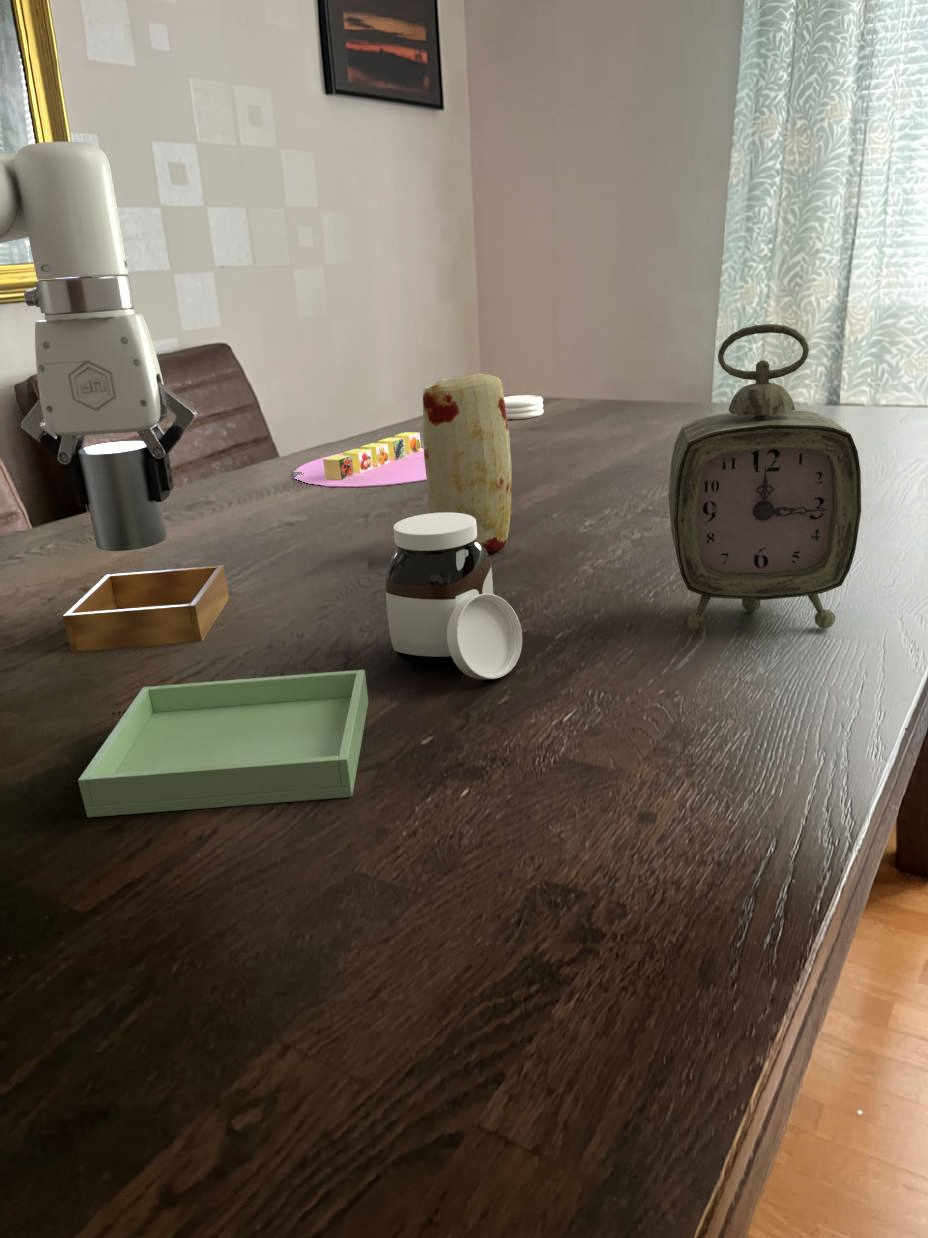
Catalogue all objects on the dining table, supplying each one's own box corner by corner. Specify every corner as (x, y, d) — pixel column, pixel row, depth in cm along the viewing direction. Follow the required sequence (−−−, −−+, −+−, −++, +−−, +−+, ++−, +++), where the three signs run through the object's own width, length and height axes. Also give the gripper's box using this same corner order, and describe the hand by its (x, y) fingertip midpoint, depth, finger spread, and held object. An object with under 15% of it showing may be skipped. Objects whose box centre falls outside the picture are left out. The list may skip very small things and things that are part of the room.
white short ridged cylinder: (489, 420, 197) (488, 403, 196) (502, 412, 206) (501, 395, 204) (536, 419, 194) (535, 401, 192) (548, 410, 202) (547, 393, 201)
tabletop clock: (674, 640, 82) (673, 335, 73) (667, 603, 91) (666, 326, 82) (852, 636, 80) (874, 321, 71) (829, 599, 88) (845, 313, 80)
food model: (441, 567, 107) (424, 382, 100) (426, 551, 113) (409, 376, 106) (524, 553, 109) (514, 372, 102) (505, 539, 115) (494, 366, 108)
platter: (252, 481, 158) (248, 461, 157) (369, 442, 183) (367, 425, 182) (412, 492, 142) (410, 469, 140) (517, 448, 167) (516, 428, 165)
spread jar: (428, 629, 89) (416, 506, 85) (546, 638, 85) (539, 509, 81) (370, 683, 79) (353, 545, 75) (501, 695, 75) (491, 551, 70)
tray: (86, 818, 62) (77, 780, 61) (149, 719, 76) (142, 686, 75) (352, 797, 62) (347, 759, 61) (368, 702, 75) (364, 669, 74)
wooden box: (72, 657, 90) (62, 615, 88) (114, 611, 101) (106, 574, 100) (203, 646, 89) (195, 605, 88) (230, 602, 101) (223, 565, 99)
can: (86, 553, 89) (67, 455, 86) (109, 534, 95) (92, 443, 92) (156, 548, 89) (139, 451, 86) (174, 530, 95) (159, 439, 92)
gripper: (-31, 308, 81) (16, 516, 87) (175, 295, 81) (207, 505, 87) (7, 304, 88) (48, 497, 94) (197, 292, 88) (225, 486, 94)
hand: (124, 499), depth 91 cm, fingers closed on can, 6 cm apart
